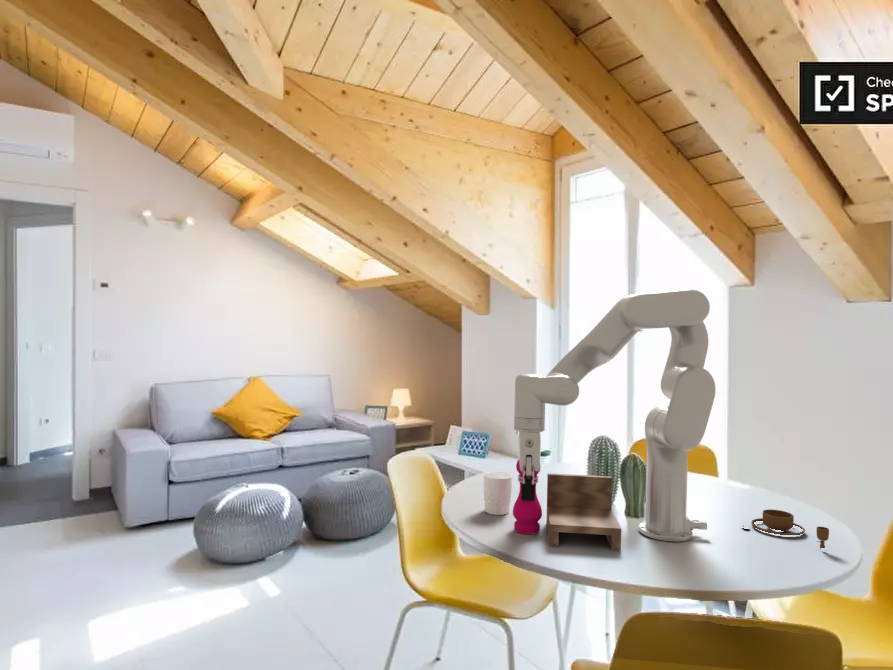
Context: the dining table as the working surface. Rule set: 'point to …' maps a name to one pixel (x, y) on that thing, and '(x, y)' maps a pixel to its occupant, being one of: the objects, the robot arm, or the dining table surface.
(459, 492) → the dining table surface
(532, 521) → the pepper mill
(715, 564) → the dining table surface
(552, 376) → the robot arm
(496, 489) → the white cup
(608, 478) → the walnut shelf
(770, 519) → the place setting
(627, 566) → the dining table surface
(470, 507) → the dining table surface
